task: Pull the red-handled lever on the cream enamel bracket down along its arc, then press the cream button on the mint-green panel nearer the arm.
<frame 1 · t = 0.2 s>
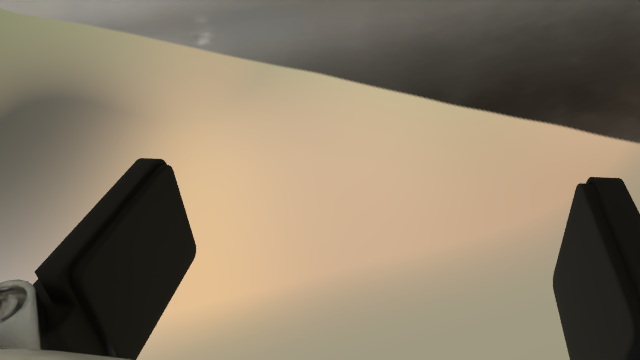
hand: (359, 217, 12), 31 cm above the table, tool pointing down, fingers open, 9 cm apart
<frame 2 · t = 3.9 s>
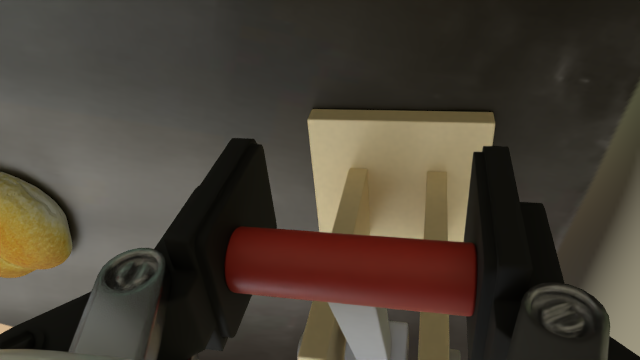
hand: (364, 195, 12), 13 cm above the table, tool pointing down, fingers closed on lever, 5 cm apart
bread roll: (20, 214, 36), on the table
bracket: (398, 190, 28), on the table
lever: (368, 330, 15), point 13 cm above the table, hinge at 25.0°, touching gripper
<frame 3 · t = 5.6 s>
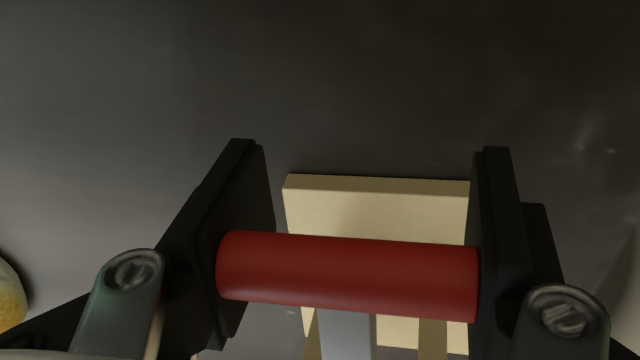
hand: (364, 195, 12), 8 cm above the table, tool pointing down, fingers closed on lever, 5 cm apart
bracket: (389, 261, 24), on the table
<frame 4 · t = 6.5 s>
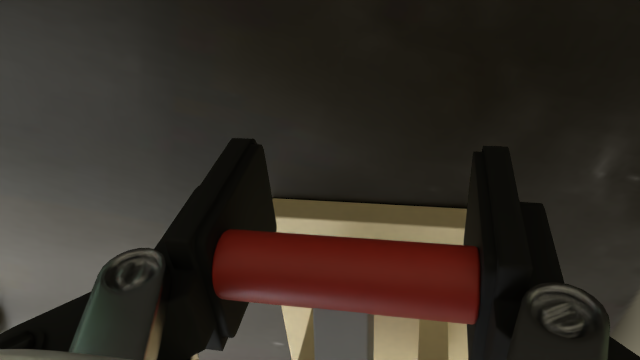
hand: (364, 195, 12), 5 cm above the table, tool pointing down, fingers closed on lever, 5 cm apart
bracket: (385, 293, 22), on the table
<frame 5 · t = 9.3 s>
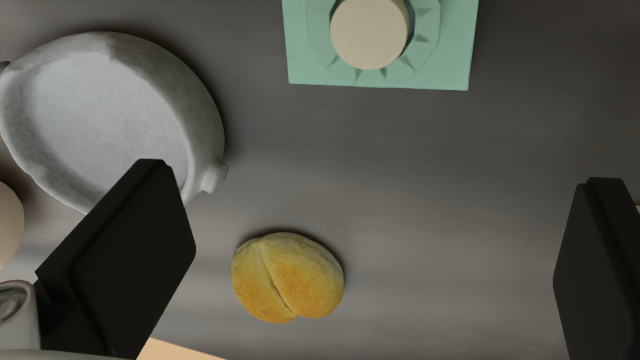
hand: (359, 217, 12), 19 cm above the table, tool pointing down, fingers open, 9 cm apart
button: (370, 27, 24), point 4 cm above the table, slide at 0.1 cm
dish: (139, 117, 35), on the table
bread roll: (290, 267, 40), on the table
egg: (6, 191, 43), on the table
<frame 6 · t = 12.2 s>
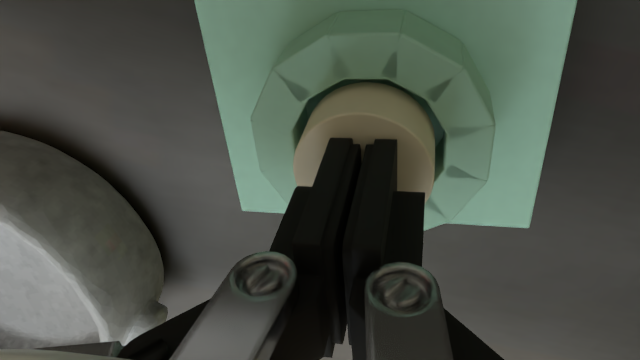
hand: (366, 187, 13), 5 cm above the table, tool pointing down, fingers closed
button: (365, 157, 13), point 4 cm above the table, slide at 0.0 cm, touching gripper
dish: (45, 229, 25), on the table
button panel: (380, 28, 15), on the table
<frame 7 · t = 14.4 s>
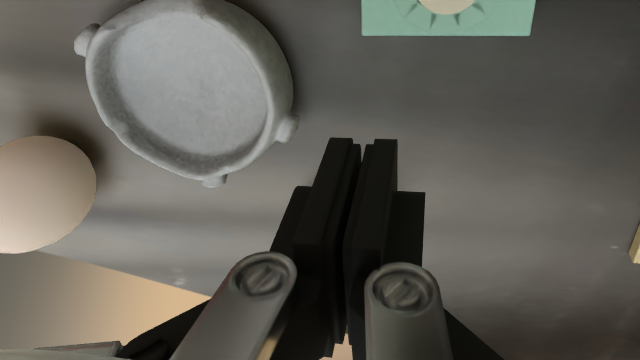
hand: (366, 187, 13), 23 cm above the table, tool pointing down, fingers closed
dish: (211, 77, 38), on the table
egg: (75, 156, 45), on the table
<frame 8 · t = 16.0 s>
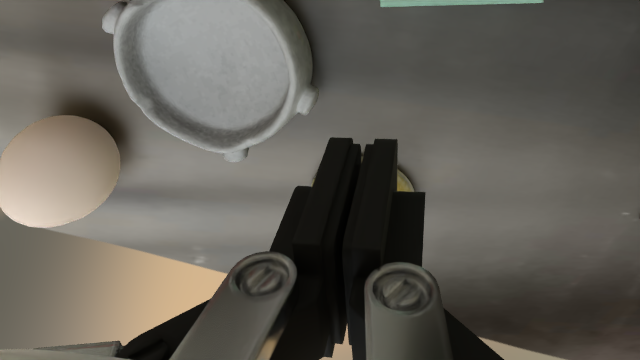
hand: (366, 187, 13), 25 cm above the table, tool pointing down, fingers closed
dish: (231, 54, 39), on the table
egg: (98, 136, 47), on the table
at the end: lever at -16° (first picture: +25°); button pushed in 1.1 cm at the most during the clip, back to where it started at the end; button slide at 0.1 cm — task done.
